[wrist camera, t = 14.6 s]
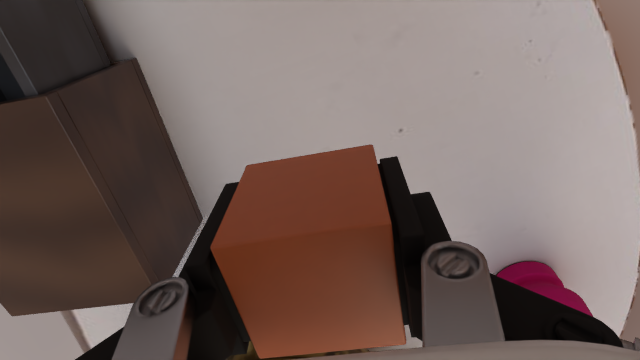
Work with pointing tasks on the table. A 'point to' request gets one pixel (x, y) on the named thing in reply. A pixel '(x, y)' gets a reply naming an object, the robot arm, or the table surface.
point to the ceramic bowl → (252, 356)
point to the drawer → (46, 46)
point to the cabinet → (89, 195)
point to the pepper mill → (543, 283)
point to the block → (312, 255)
